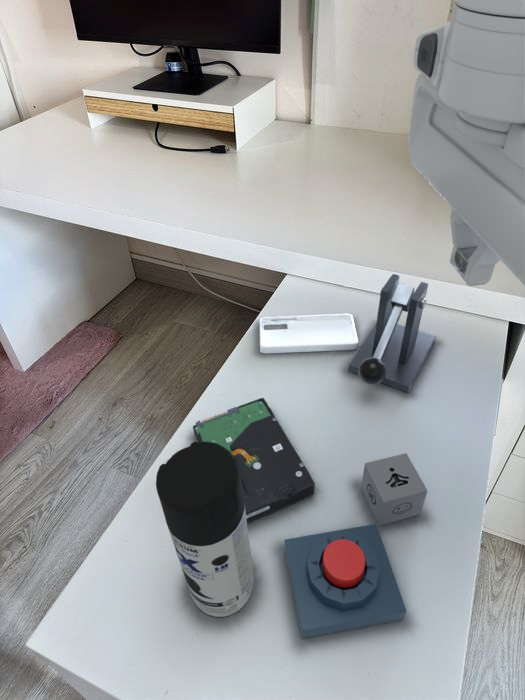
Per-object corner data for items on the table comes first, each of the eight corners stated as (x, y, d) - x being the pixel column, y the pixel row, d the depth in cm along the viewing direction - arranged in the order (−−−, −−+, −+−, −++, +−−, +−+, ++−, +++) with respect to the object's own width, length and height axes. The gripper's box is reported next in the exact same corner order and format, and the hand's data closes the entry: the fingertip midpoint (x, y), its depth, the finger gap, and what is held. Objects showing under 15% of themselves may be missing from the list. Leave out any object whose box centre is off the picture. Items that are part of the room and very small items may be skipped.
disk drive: (316, 495, 59) (263, 408, 69) (317, 482, 57) (263, 395, 67) (235, 532, 56) (192, 435, 66) (233, 519, 55) (189, 422, 64)
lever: (381, 391, 67) (378, 385, 64) (356, 381, 69) (352, 375, 65) (420, 297, 69) (419, 286, 66) (395, 290, 71) (393, 279, 68)
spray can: (177, 582, 52) (136, 473, 39) (227, 539, 56) (205, 425, 42) (217, 633, 49) (186, 532, 35) (268, 584, 52) (258, 474, 38)
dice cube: (378, 525, 56) (383, 502, 53) (360, 487, 60) (365, 463, 56) (419, 514, 57) (427, 490, 53) (400, 477, 60) (406, 453, 57)
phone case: (260, 354, 77) (358, 350, 77) (259, 347, 76) (359, 343, 76) (259, 323, 83) (351, 319, 82) (259, 316, 82) (352, 312, 82)
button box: (374, 533, 55) (378, 515, 53) (403, 620, 49) (409, 603, 46) (284, 549, 55) (284, 531, 52) (302, 639, 48) (302, 623, 45)
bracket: (407, 393, 70) (423, 322, 62) (348, 371, 74) (355, 301, 65) (434, 342, 78) (451, 272, 69) (378, 324, 81) (388, 256, 73)
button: (356, 544, 51) (358, 536, 50) (369, 584, 48) (370, 576, 47) (318, 551, 51) (318, 542, 49) (328, 591, 48) (328, 583, 46)
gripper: (736, 123, 21) (597, 365, 30) (492, 25, 35) (451, 207, 45) (592, 139, 20) (497, 380, 29) (406, 32, 35) (382, 215, 44)
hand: (468, 274), depth 37 cm, fingers closed
